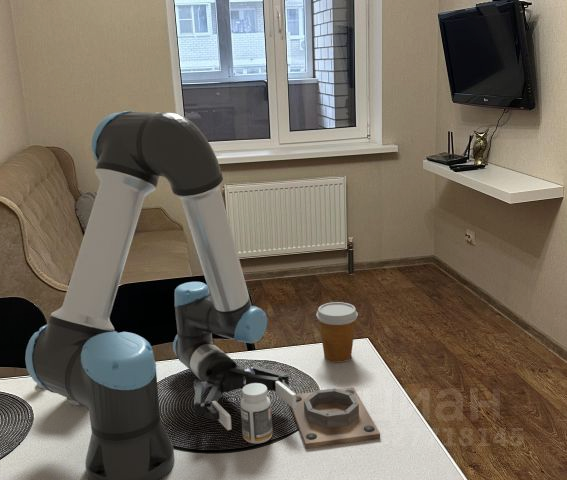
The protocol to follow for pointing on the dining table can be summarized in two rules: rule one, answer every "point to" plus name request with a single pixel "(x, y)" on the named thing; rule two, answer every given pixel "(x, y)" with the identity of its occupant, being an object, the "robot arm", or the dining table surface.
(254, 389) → the pill bottle
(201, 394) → the robot arm
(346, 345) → the disposable coffee cup
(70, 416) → the dining table surface
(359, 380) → the dining table surface
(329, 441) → the socket plate
